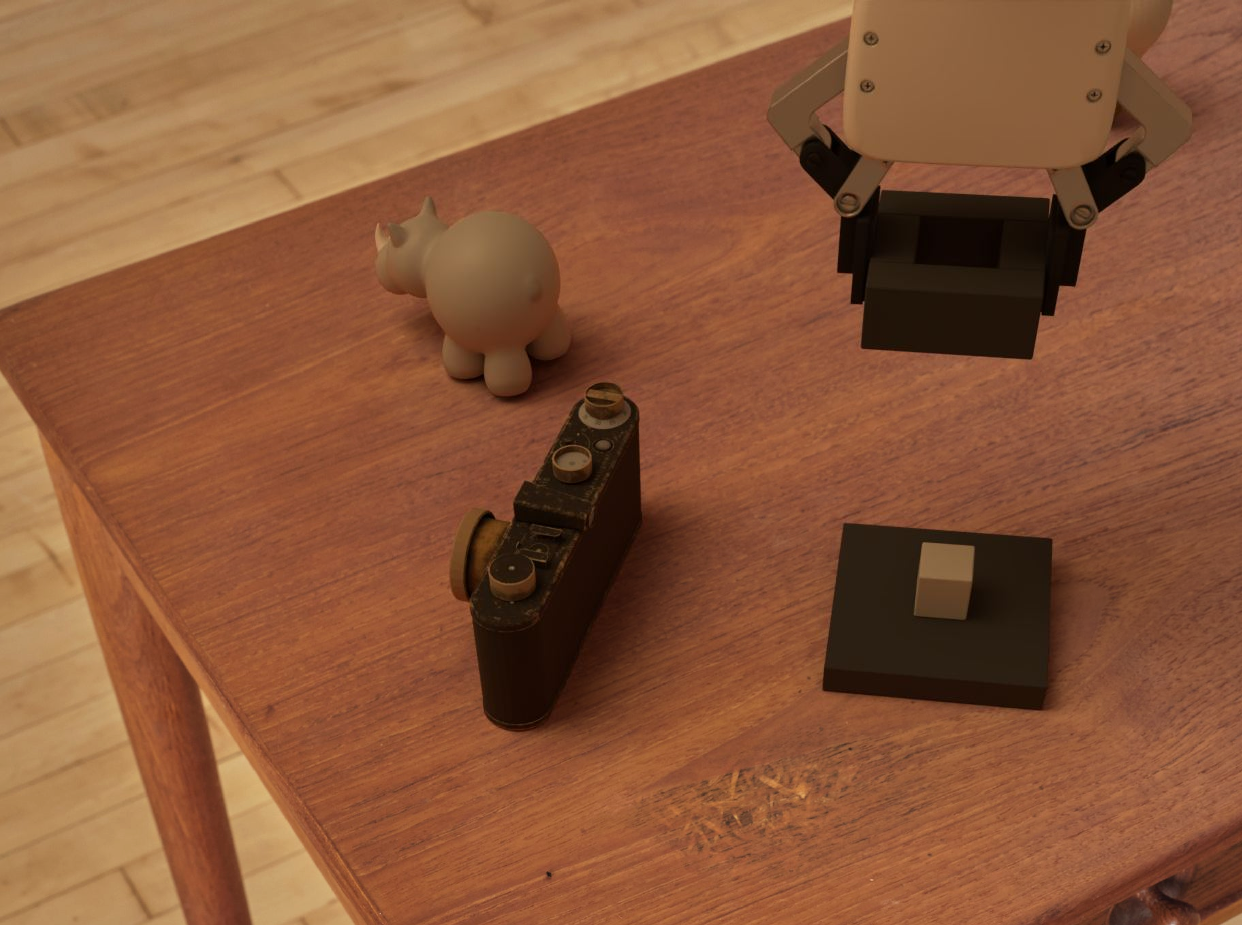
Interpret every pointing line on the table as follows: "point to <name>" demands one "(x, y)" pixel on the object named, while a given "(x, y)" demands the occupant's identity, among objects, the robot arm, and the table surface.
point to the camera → (551, 558)
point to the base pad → (941, 616)
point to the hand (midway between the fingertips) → (953, 288)
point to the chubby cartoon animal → (480, 291)
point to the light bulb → (1145, 27)
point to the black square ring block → (956, 274)
